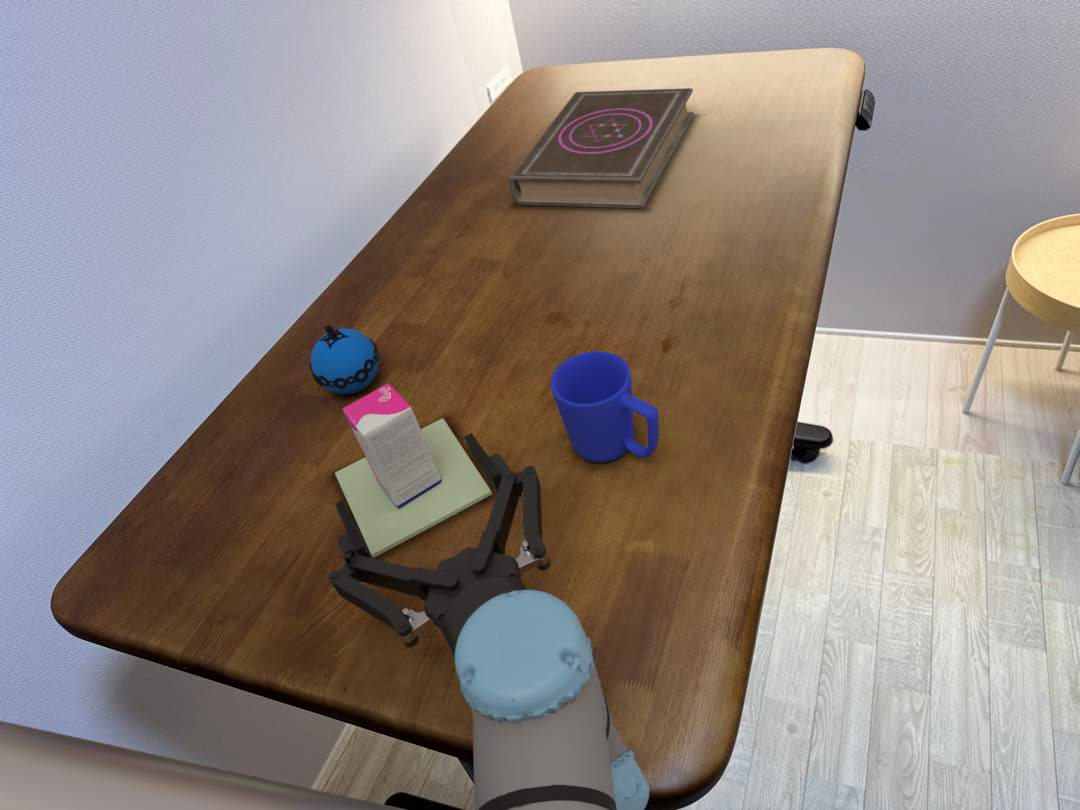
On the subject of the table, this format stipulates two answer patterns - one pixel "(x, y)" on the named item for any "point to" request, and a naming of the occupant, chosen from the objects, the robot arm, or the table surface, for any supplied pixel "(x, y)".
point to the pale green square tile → (446, 499)
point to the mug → (601, 407)
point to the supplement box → (393, 445)
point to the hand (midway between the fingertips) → (408, 476)
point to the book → (604, 149)
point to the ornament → (344, 361)
